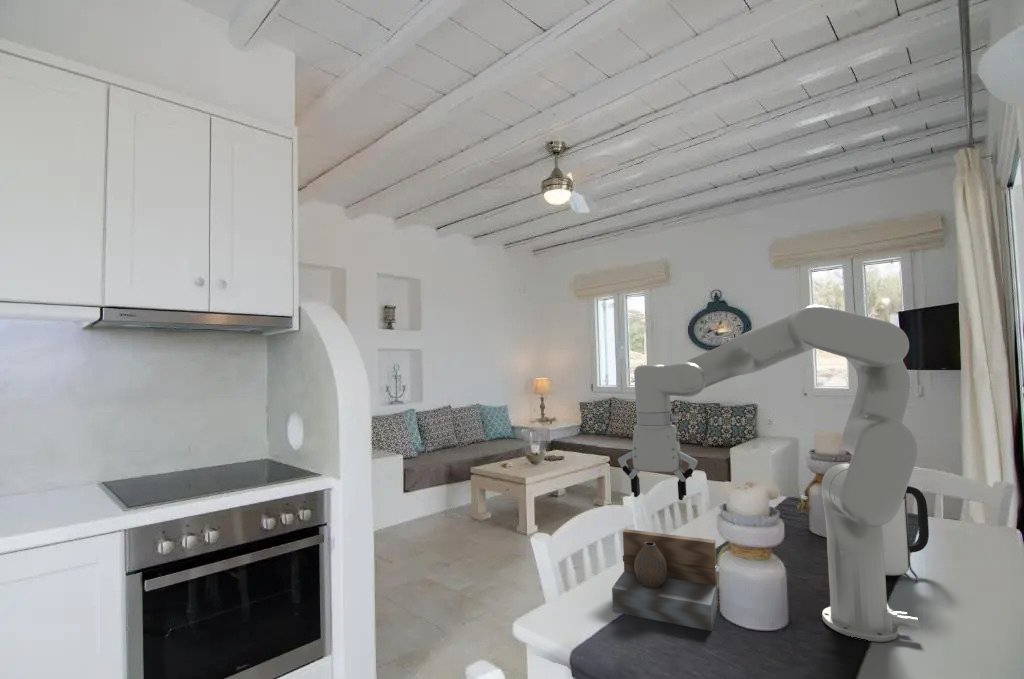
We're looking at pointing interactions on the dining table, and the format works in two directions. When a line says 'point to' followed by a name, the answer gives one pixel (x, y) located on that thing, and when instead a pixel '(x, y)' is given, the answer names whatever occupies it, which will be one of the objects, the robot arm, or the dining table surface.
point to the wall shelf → (670, 581)
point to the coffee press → (904, 536)
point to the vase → (650, 566)
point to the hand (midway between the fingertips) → (658, 497)
